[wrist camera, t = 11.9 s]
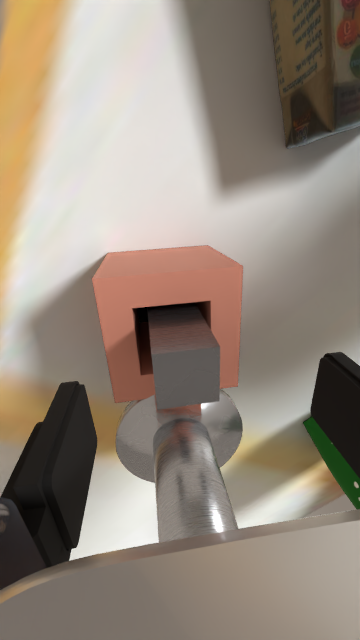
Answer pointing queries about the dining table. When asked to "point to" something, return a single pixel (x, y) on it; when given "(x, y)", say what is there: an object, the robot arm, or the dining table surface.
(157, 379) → the gray square bar
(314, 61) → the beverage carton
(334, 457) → the milk carton
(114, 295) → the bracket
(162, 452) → the silver flanged rod
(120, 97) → the dining table surface
